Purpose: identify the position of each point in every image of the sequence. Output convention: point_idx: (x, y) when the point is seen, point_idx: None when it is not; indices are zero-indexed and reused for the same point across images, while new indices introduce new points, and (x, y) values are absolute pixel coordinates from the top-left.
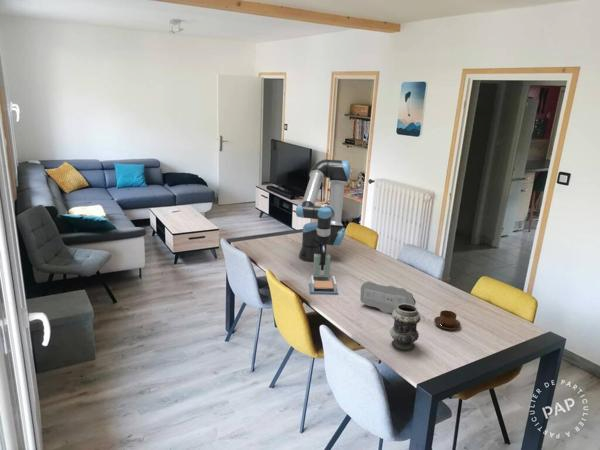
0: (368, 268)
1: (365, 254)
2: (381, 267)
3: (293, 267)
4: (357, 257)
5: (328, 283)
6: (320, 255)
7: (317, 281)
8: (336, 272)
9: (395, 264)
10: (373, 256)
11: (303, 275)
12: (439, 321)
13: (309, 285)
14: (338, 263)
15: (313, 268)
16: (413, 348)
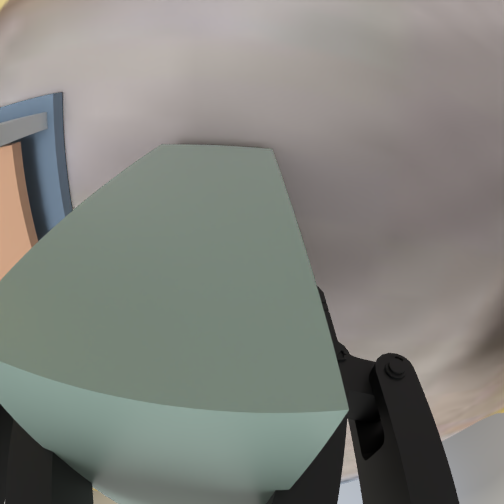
0: (351, 438)
1: (468, 415)
2: (346, 456)
3: (490, 30)
4: (465, 402)
5: (5, 270)
6: (161, 483)
7: (5, 185)
8: (343, 342)
9: (356, 469)
10: (442, 432)
11: (311, 44)
12: None
13: (17, 104)
14: (459, 351)
15: (267, 163)
16: None
